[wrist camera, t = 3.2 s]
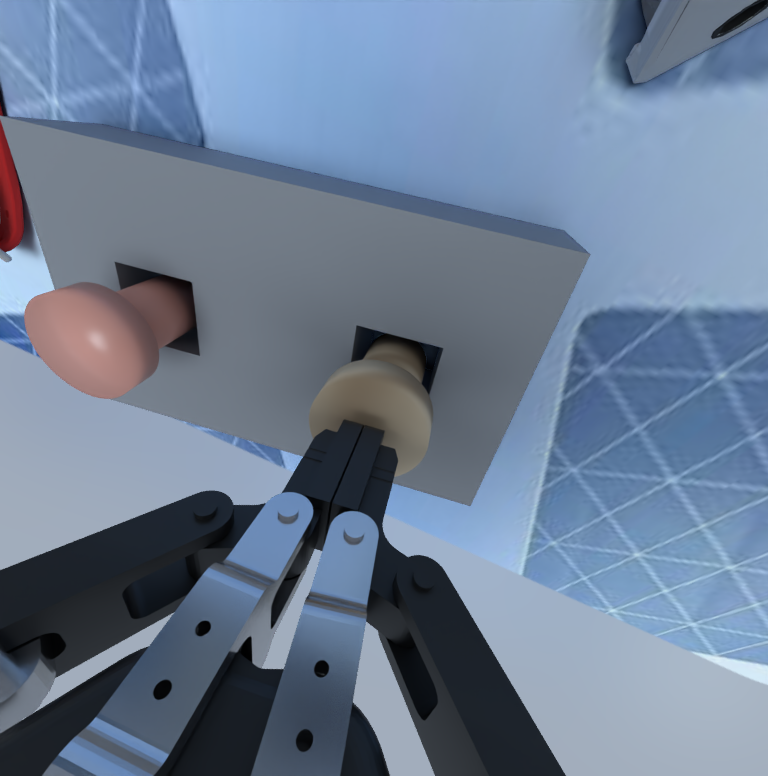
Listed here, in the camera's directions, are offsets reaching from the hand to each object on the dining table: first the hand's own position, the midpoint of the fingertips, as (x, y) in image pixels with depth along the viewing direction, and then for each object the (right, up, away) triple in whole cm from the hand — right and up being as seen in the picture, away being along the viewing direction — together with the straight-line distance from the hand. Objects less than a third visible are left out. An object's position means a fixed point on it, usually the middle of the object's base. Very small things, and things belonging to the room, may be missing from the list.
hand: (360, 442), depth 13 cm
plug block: (-4, +7, +9) cm, 12 cm away
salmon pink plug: (-10, +7, +7) cm, 14 cm away
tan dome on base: (+2, +3, +6) cm, 7 cm away
